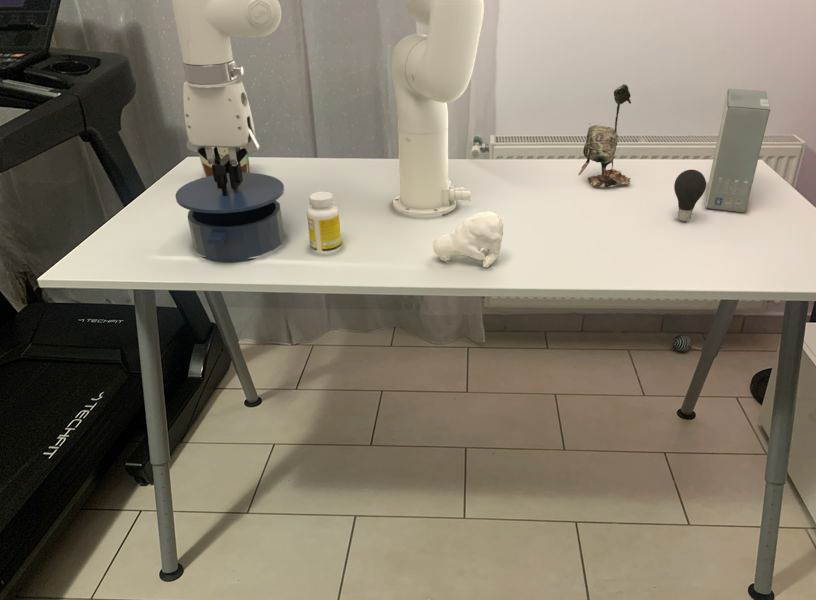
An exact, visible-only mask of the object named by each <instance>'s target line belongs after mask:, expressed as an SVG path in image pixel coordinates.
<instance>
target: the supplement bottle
mask: <svg viewBox="0 0 816 600" xmlns="http://www.w3.org/2000/svg"><path fill="white" fill-rule="evenodd" d="M308 201H309V206H310V207H308V208H307V210H306V219H307V226H308V227H307V228H308V235H309V236H308V238H309V245H310V249H311V250H312V251H313V252H317V253H323V254H324V253H333V252H335V251H337V250H340V249H341V248H342V234H341V225H340V224H341V223H340V213H339V209H338V207H337V206H335V205H334V195H333V193H331V192H329V191H316V192H312V193H311V194H309V195H308Z"/></svg>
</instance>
